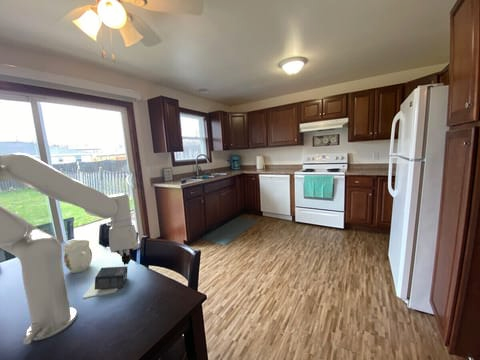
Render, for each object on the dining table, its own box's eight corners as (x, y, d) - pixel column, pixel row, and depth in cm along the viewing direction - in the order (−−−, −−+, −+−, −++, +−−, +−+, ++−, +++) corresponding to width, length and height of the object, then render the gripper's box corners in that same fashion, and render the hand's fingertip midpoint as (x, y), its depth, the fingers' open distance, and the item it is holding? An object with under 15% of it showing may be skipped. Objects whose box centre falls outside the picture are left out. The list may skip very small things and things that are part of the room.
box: (127, 277, 94) (100, 279, 91) (128, 266, 94) (101, 267, 91) (122, 288, 87) (93, 290, 84) (123, 275, 87) (94, 276, 83)
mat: (116, 292, 85) (115, 291, 85) (82, 298, 82) (82, 297, 82) (124, 275, 96) (124, 275, 96) (95, 281, 93) (95, 280, 93)
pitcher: (75, 280, 94) (70, 252, 93) (61, 270, 104) (56, 244, 103) (101, 269, 103) (97, 243, 102) (86, 260, 113) (82, 236, 112)
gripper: (98, 228, 82) (104, 270, 85) (138, 223, 86) (143, 264, 88) (105, 222, 90) (110, 261, 92) (142, 218, 93) (146, 256, 96)
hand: (126, 262), depth 90 cm, fingers closed
